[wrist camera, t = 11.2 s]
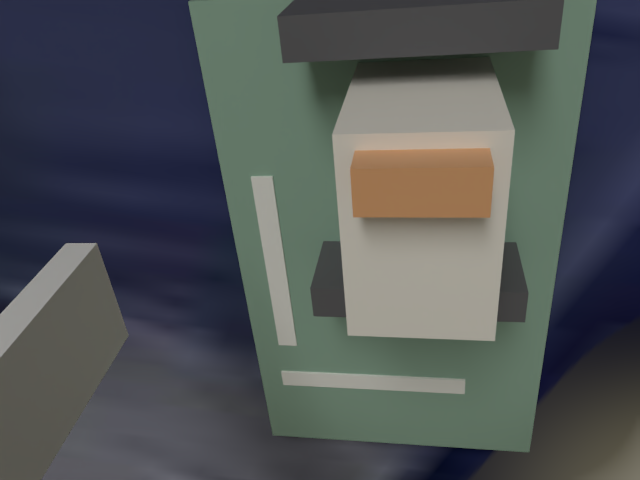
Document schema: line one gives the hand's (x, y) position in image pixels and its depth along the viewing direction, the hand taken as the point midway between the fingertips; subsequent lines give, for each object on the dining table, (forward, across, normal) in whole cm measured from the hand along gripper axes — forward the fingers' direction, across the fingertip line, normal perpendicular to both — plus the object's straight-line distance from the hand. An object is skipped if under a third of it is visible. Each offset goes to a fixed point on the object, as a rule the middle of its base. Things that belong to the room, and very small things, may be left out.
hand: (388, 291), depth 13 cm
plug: (+8, +1, 0) cm, 8 cm away
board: (+9, 0, -5) cm, 10 cm away
